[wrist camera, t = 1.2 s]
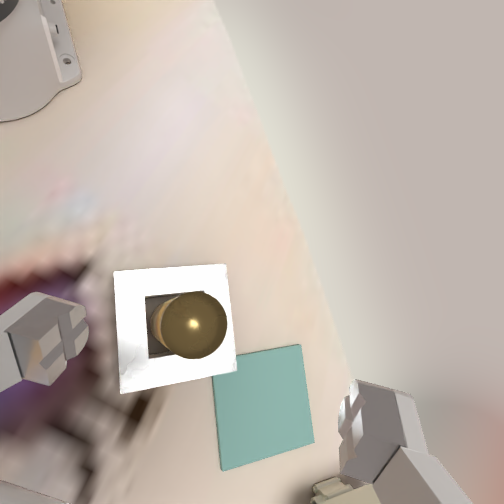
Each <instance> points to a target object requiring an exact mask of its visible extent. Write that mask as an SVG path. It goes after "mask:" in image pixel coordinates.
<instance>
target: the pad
mask: <svg viewBox="0 0 504 504" xmlns="http://www.w3.org/2000/svg"><path fill="white" fill-rule="evenodd" d="M236 362H237V371H233V372H228V373H223V374H218V375H213V376H212V381H213V392H214V402H215V413H216V423H217V434H218V444H219V454H220V465H221V470H222V471H227V470H230V469H233V468H236V467H239V466H242V465H246V464H249V463H252V462H255V461H258V460H261V459H265V458H268V457H271V456H274V455H277V454H280V453H284V452H287V451H290V450H293V449H296V448H299V447H303V446H306V445H309V444H312V443H315V442H314V435H313V427H312V420H311V413H310V406H309V399H308V391H307V384H306V377H305V370H304V363H303V355H302V348H301V345H299V344H297V345H292V346H286V347H281V348H275V349H270V350H264V351H259V352H253V353H248V354H242V355H237V356H236Z"/></svg>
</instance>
